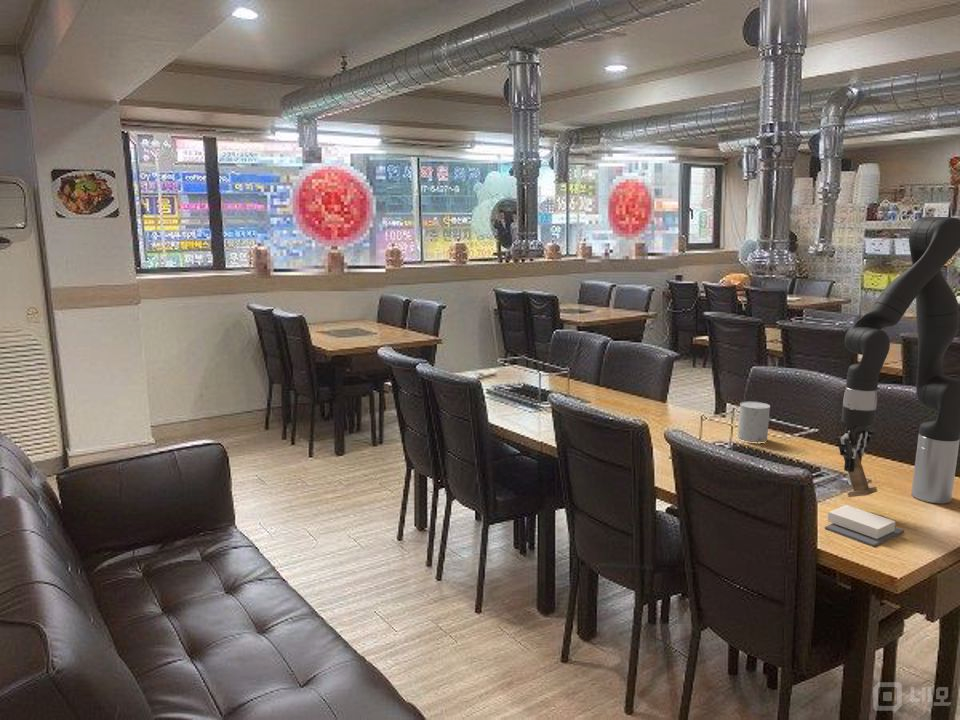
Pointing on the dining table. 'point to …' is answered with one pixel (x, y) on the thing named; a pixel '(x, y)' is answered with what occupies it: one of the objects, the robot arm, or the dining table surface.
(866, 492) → the brown tapered stand
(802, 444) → the dining table surface
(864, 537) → the mat
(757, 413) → the grey stone cylinder
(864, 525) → the white rectangular block
